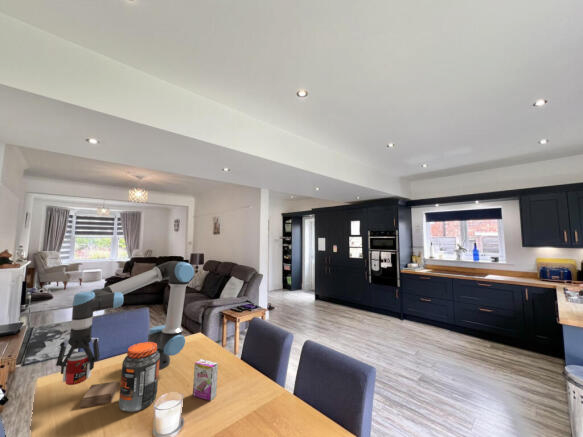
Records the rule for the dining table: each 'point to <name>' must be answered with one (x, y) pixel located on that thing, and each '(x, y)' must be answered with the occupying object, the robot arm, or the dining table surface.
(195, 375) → the candy bar box
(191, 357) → the dining table surface
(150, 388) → the supplement tub
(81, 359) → the canned food
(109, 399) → the plinth
